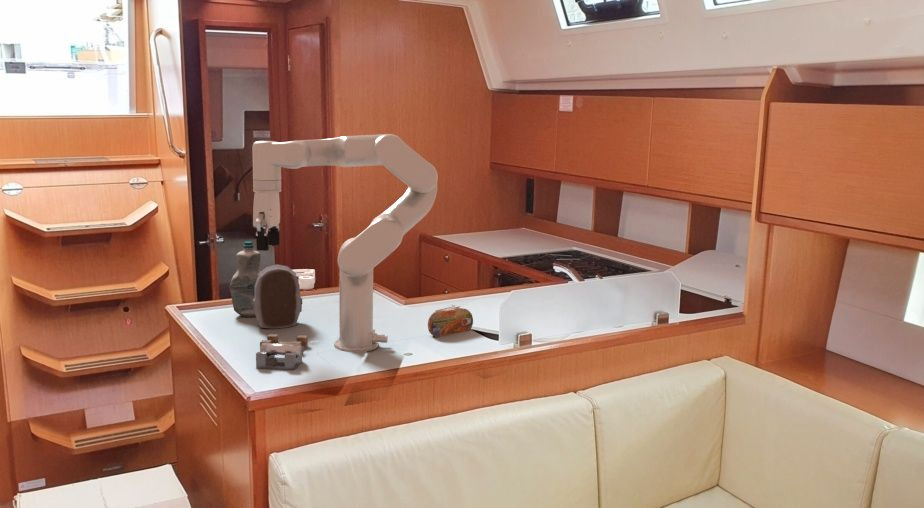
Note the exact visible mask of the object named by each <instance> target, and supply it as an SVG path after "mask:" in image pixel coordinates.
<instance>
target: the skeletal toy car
mask: <svg viewBox="0 0 924 508" xmlns="http://www.w3.org/2000/svg"><path fill="white" fill-rule="evenodd" d="M292 270H293V271H294V272H295V273H296V276H297V278H298V282H299V285H300V290H311V289H313V288H315V283H316V270H315V269H309V268H305V269H304V268H302V269H301V268H299V269H296V268H295V269H292Z"/></svg>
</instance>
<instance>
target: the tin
mask: <svg viewBox="0 0 924 508" xmlns="http://www.w3.org/2000/svg"><path fill="white" fill-rule="evenodd" d="M429 316H430V317H429V318H428V320H427V329H428V332H429V334H430V335H432V336H433V337H435V338H440V337H445V336H449V335H453V334H458V333H463V332H470V331H471V330H472V327H473V324H474V317H473V314H472V313H471V311H470V310H469V309H466V308H461V307H459V308H455V309H448V310H441V311H436V312H435V311H434V312H433V313H432V314H431V315H429Z"/></svg>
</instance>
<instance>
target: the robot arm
mask: <svg viewBox="0 0 924 508" xmlns="http://www.w3.org/2000/svg"><path fill="white" fill-rule="evenodd" d="M251 148H252V183H253V184H252V187H253V188H252V192H254V194H253V195H254V196H253V207H252V209H253V210H252V211H253V212H252V213H253V214H252V227H253V228H255V231H256V232H255V236H256V241H255V242H256V251H269V250H270V248H269V247H270V246H279V245H280V242H281V240H280V239H281V238H280V237H281V236H280V224H281V223H280V222H281V203H280V193H281V192H282V168H284V169H285V168H286V169H292V170H295V169H296V170H297V169H300V168H303V167H306V168H307V167H321V166H322V167H323V166H334V167H335V166H336V167H341V168H352V167H353V168H355V167H356V168H357V167H372V166H373V167H374V166H384V168H386V169H387V170H388V171H389V172H390V173H391V174H393V175H394V176H396V178H398V179H399V180H400V181H401V182H403V183H404V185H407V189H406V190H405V192H404V194H403V195H402V196H401V197H399V198H398V199H397V200H396V201H395V202H394V203H393V204H392V205H390V206H389V207H388V208H387V209H386V210H384V211H383V212H381V213H380V214H379V215H378V216H376V217H374V218H373V219H372V220H371V221H370V224H369V226H367V227H366V228H364V230H362V231H361V232H360V233H359V234H358V235H356V236H355V237H351V238H348V239H347V240H345V241H344V242H343V244H342V245H341V246H340V248H339V252H338V254H337V255H338V256H337V265H338V268H339V298H338V299H339V301H338V303H339V314H338V315H339V318H338V319H339V326H338V327H339V329H338V330H339V339H336V340H335V341H334V343H333V347H334V348H335V349H337V350H339V351H344V352H350V353H351V352H370V351H373V350H375V349H377V348H378V347H379V343H383V344H384V343H385V344H388V340H389V337H388V335H385V334H381V333H380V334H378V333H376V329H374V324H373V323H374V268H375V267H377V266H378V265H379V264H380V263H381V262H383V261H384V260H385V259H387V257H389V256H390V255H391V254H393V252H395V250H396V249H397V248H398V247H399V246H400V245H401V244H402V241H403V237H404V236H405V235H406V234H407V233H408V232H409V231H411V229H413V228H414V227H415V225H416V224H418V223H419V222H420V221H421V220H422V219H423V218H425V217H426V216H427V214H428V213H429V212H431V211H430V210H431V209H432V208H433V206H434V203H435V201H436V198H437V193H438V180H439V174H438V170H437V169H436V167H435V166H434V165H433V164H432V163H430V162H429V161H427V160H426V159H425V158H424V157H423V156H421V155H420V154H419V153H418V152H417V151H415V150H414V149H413V148H412V147H410V146H409V145H408V144H407V143H406V142H405V141H404V140H403V139H402V138H401V137H399V135H396V134H393V133H379V134H366V135H365V134H364V135H346V136H345V135H343V136H338V137H332V138H321V139H303V140H301V139H299V140H290V141H282V142H278V141H275V140H258V141H254V142H253V144H252V147H251Z"/></svg>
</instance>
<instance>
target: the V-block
mask: <svg viewBox="0 0 924 508" xmlns="http://www.w3.org/2000/svg"><path fill="white" fill-rule="evenodd" d="M302 362H303V351H302V347H301V355H300V356H296V353H286V354H285V355H284V357H276V355H267V352H260V351H257V352H255V369H257V370H258V369H262V370H263V369H264V370H280V371H281V370H282V371H283V370H285V371H295V370H296V369H297V368H298V367H299V366H300V365H301V364H302Z"/></svg>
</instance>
